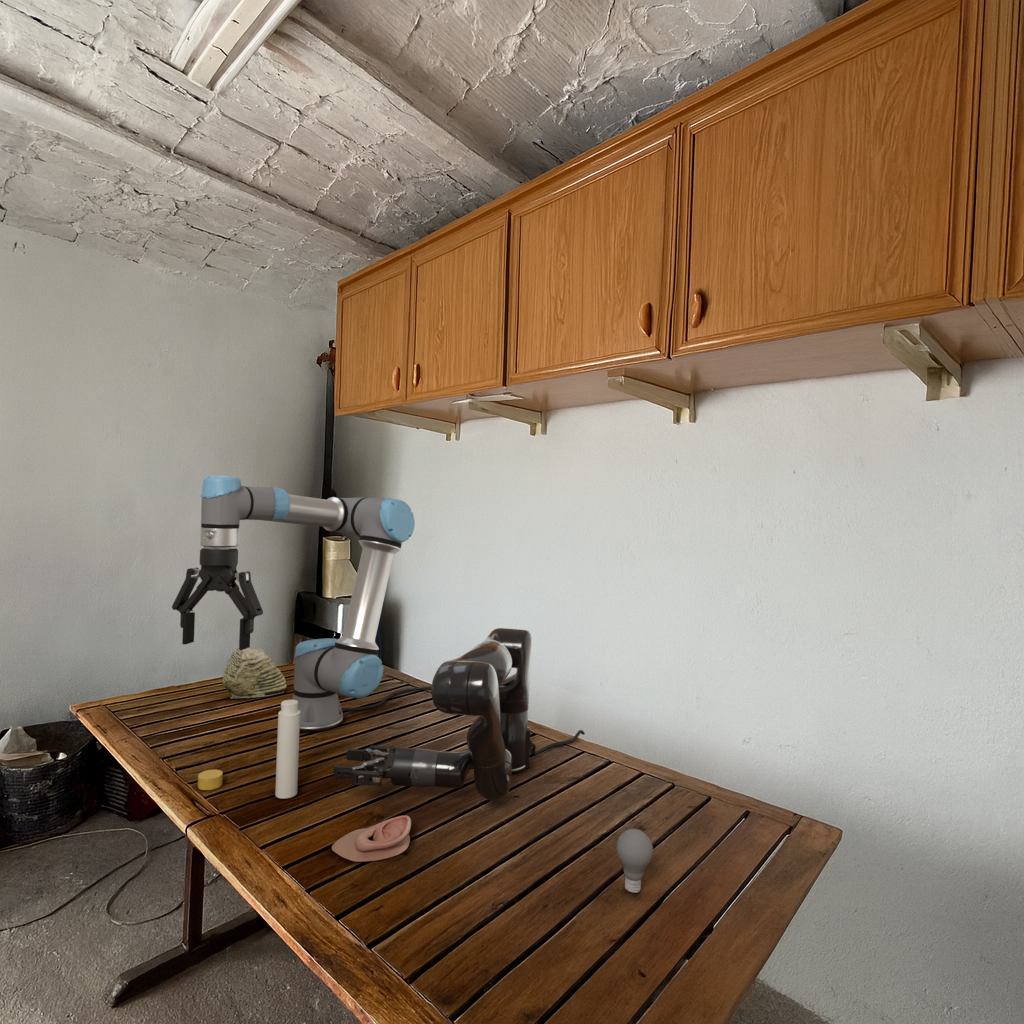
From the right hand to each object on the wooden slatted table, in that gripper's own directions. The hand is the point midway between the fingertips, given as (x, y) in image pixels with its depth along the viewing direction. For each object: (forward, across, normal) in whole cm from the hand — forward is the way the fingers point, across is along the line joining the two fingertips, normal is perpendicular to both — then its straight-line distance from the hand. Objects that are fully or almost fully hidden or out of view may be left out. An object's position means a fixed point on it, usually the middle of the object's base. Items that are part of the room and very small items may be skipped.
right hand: (340, 762), depth 134 cm
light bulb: (-58, +26, +7) cm, 64 cm away
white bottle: (+11, 0, +7) cm, 14 cm away
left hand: (+29, -2, -23) cm, 37 cm away
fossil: (+47, -62, +8) cm, 78 cm away
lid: (+29, -1, +5) cm, 29 cm away
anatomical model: (-12, +18, +7) cm, 22 cm away
